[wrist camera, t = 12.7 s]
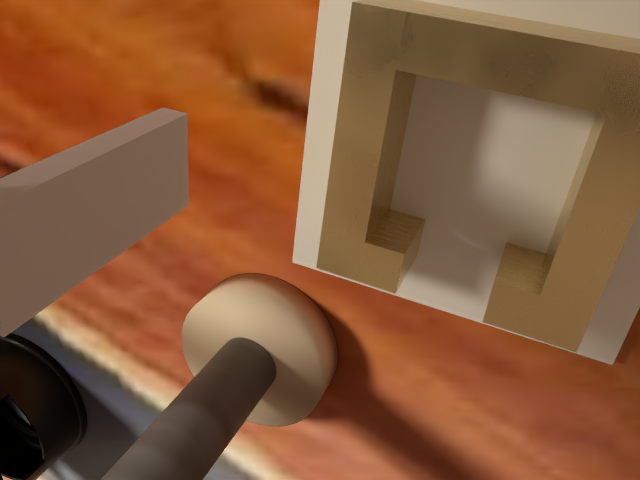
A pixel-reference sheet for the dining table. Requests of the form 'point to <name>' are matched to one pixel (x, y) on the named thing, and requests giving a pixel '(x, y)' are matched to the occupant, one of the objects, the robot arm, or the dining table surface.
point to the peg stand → (237, 376)
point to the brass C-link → (503, 76)
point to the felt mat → (475, 172)
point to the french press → (36, 410)
